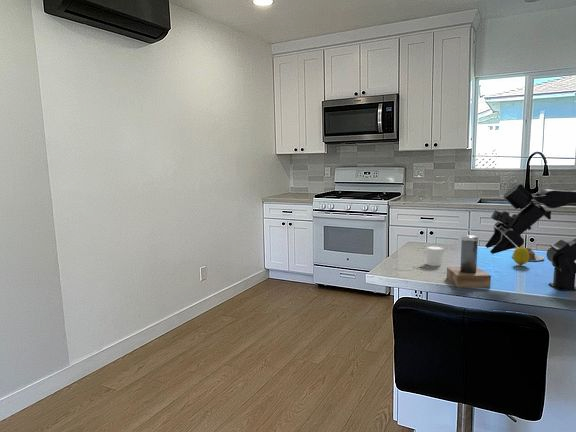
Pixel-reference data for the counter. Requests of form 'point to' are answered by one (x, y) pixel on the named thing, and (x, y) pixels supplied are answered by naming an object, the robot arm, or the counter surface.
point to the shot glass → (434, 255)
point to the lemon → (521, 255)
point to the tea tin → (469, 254)
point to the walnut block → (468, 278)
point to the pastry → (534, 256)
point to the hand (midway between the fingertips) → (488, 249)
